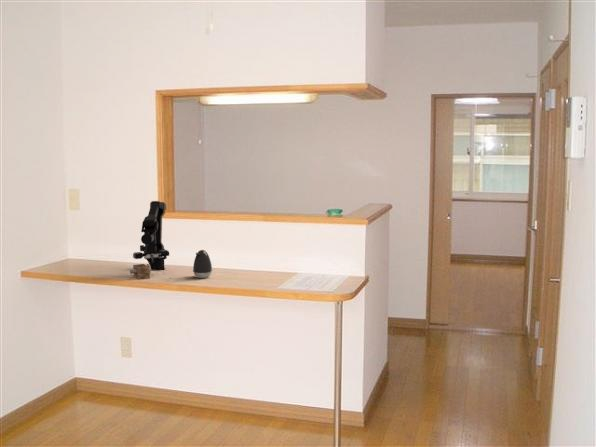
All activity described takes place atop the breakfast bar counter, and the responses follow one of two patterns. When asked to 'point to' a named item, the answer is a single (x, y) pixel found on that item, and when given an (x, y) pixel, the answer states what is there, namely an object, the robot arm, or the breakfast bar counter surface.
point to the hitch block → (142, 271)
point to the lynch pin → (135, 270)
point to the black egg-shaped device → (202, 265)
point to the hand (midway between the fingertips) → (151, 269)
